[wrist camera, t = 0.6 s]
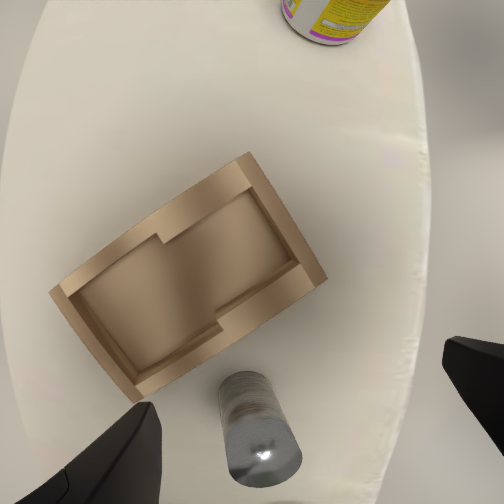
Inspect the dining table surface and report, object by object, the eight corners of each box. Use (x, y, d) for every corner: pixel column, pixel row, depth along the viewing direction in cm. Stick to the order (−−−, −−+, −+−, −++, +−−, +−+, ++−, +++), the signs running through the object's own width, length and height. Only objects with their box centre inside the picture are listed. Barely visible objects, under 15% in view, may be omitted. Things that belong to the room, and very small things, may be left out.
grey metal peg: (237, 424, 23) (254, 496, 15) (207, 390, 22) (213, 461, 14) (281, 398, 23) (314, 464, 15) (253, 361, 22) (279, 425, 14)
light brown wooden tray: (139, 386, 21) (133, 403, 19) (63, 284, 20) (48, 292, 17) (314, 272, 22) (328, 278, 20) (243, 158, 21) (249, 151, 18)
